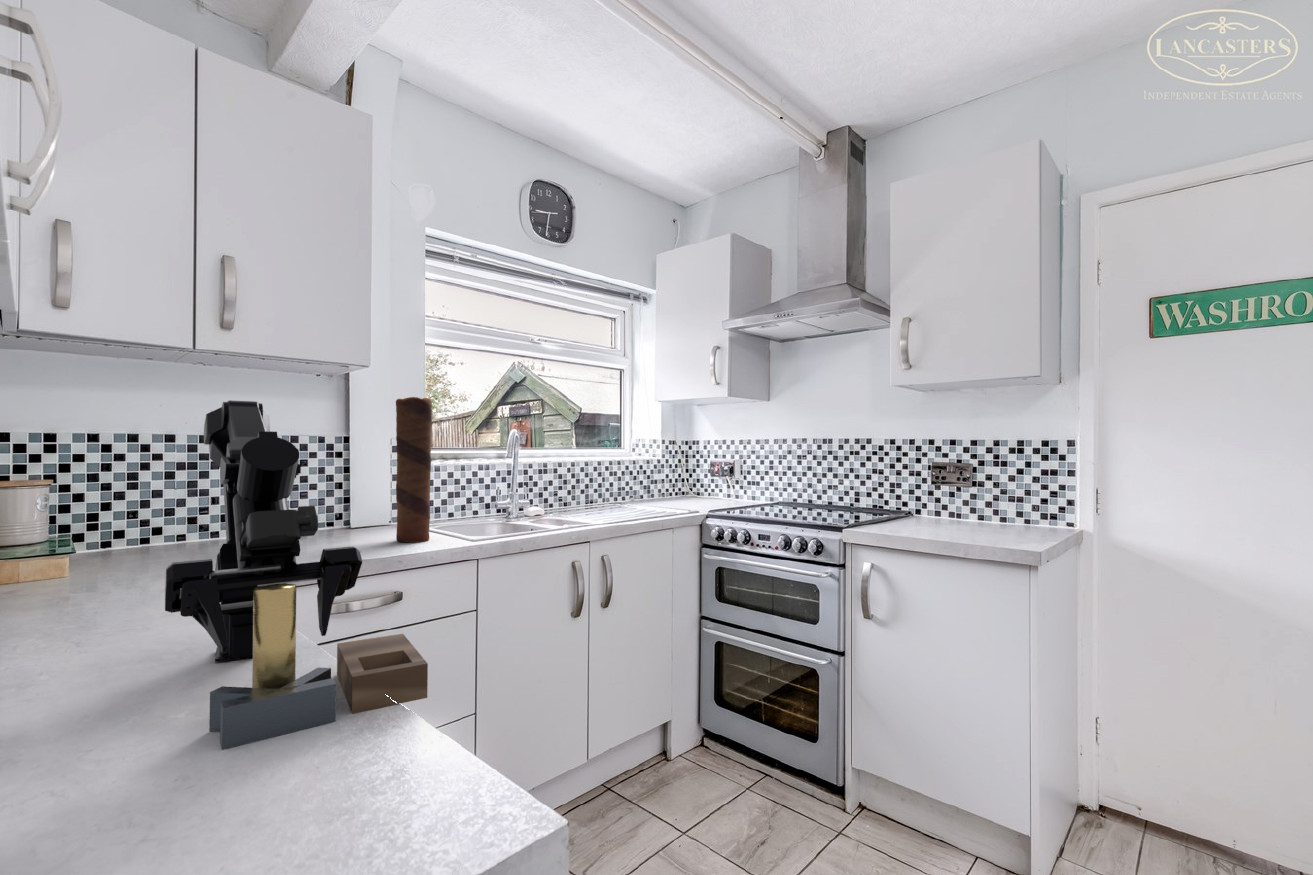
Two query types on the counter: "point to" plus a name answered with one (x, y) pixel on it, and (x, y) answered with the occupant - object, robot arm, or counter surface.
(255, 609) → the brass axle
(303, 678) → the steel V-block
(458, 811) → the counter surface
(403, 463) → the wafer roll
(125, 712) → the counter surface
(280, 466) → the robot arm
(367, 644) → the wooden socket block
